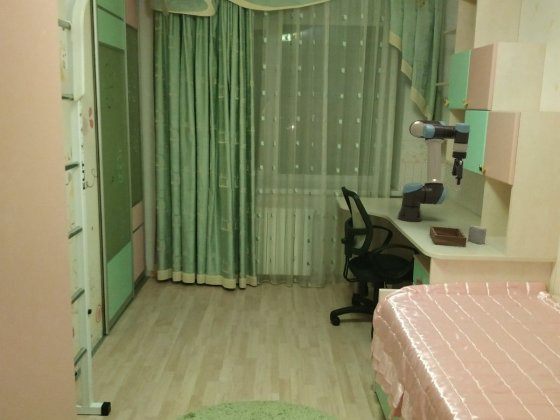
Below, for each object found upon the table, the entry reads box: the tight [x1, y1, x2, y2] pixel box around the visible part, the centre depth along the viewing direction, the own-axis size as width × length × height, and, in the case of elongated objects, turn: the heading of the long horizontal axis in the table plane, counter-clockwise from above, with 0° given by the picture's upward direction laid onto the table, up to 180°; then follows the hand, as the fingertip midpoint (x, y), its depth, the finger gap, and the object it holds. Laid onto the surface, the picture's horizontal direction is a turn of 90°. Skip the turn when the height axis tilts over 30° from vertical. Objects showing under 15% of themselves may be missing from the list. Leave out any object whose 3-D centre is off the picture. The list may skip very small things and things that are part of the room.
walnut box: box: [429, 226, 468, 248], centre depth 292 cm, size 22×16×5 cm
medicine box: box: [467, 225, 487, 245], centre depth 291 cm, size 8×4×9 cm, turn 37°
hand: (455, 188), depth 302 cm, fingers open, 13 cm apart
